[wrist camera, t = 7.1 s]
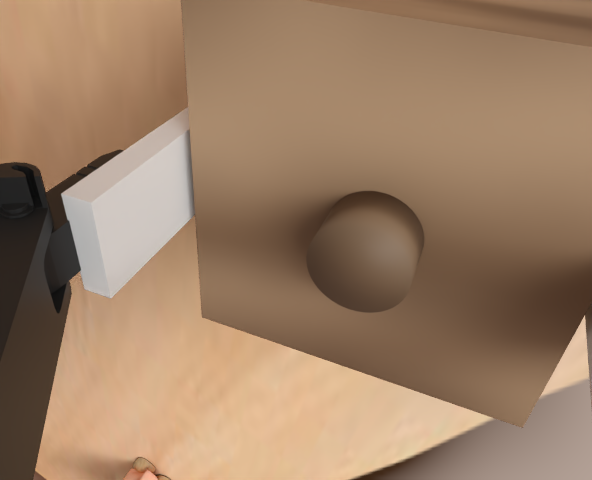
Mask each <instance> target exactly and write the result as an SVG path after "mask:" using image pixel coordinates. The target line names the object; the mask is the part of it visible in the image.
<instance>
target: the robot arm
mask: <svg viewBox="0 0 592 480" xmlns="http://www.w3.org/2000/svg"><path fill="white" fill-rule="evenodd" d="M194 215H195V204H194V188H193V173H192V158H191V143H190V128H189V112H188V107H187V108H185V109H184V110H183V111H181V112H180V113H178V114H177V115H175V116H174V117H172V118H171V119H169V120H168V121H166V122H165V123H164V124H162V125H161V126H159V127H158V128H156V129H155V130H153V131H152V132H150V133H149V134H148V135H146V136H145V137H143V138H142V139H140V140H139V141H137V142H136V143H134V144H133V145H131V146H130V147H129V148H127V149H126V150H124V151H123V150H117V151H114V152H111V153H108V154H105V155H103V156H100V157H99V158H97V159H96V160H94V161H93V162H91V163H90V164H88V166H87V167H84V168H82V169H81V170H79V171H78V172H77V174H76V175H75V174H73V175H72V176H70V177H69V178H67V179H66V180H64V181H63V182H61V183H60V184H58V185H57V186H55V187H54V188H52V189H51V190H49V191H48V192H45V188H44V184H43V180H42V177H41V173H40V170H39V169H38V168H37V167H36V166H34V165H31V164H27V163H17V162H13V163H4V164H0V480H33V477H34V472H35V467H36V463H37V458H38V453H39V448H40V443H41V438H42V434H43V429H44V424H45V419H46V414H47V409H48V405H49V400H50V395H51V390H52V385H53V381H54V376H55V371H56V366H57V361H58V356H59V352H60V347H61V342H62V337H63V332H64V327H65V323H66V318H67V313H68V308H69V303H70V299H71V294H72V293H71V286H70V282H69V280H70V279H71V278H72V277H74V276H75V275H76V274H77V273H78V272H79V271H80V273H81V277H82V281H83V285H84V289H85V290H88V291H91V292H93V293H96V294H99V295H102V296H105V297H108V298H110V299H111V298H112V297H113V296H114V295H115V294H116V293H117V292H118V291H119V290H120V289H121V288H122V287H123V286H124V285H125V284H126V283H127V282H128V281H129V280H130V279H131V278H132V277H133V276H134V275H135V274H136V273H137V272H138V271H139V270H140V269H141V268H142V267H143V266H144V265H145V264H146V263H147V262H148V261H149V260H150V259H151V258H152V257H153V256H154V255H155V254H156V253H157V252H158V251H159V250H160V249H161V248H162V247H163V246H164V245H165V244H166V243H167V242H168V241H169V240H170V239H171V238H172V237H173V236H174V235H175V234H176V233H177V232H178V231H179V230H180V229H181V228H182V227H183V226H184V225H185V224H186V223H187V222H188V221H189V220H190V219H191V218H192V217H193V216H194ZM585 319H586V334H587V348H588V363H589V377H590V392H591V405H592V303H591V305H590V306H589V308H588V310H587V312H586V314H585ZM591 407H592V406H591Z"/></svg>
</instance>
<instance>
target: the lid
mask: <svg viewBox="0 0 592 480" xmlns="http://www.w3.org/2000/svg"><path fill="white" fill-rule="evenodd" d="M181 6H182V21H183V37H184V52H185V67H186V82H187V97H188V112H189V128H190V143H191V158H192V173H193V188H194V204H195V219H196V234H197V249H198V264H199V279H200V295H201V310H202V317H203V318H206V319H209V320H212V321H215V322H218V323H220V324H223V325H226V326H229V327H232V328H235V329H238V330H241V331H244V332H246V333H249V334H252V335H255V336H258V337H261V338H264V339H267V340H270V341H273V342H275V343H278V344H281V345H284V346H287V347H290V348H293V349H296V350H299V351H302V352H304V353H307V354H310V355H313V356H316V357H319V358H322V359H325V360H328V361H330V362H333V363H336V364H339V365H342V366H345V367H348V368H351V369H354V370H357V371H359V372H362V373H365V374H368V375H371V376H374V377H377V378H380V379H383V380H386V381H388V382H391V383H394V384H397V385H400V386H403V387H406V388H409V389H412V390H414V391H417V392H420V393H423V394H426V395H429V396H432V397H435V398H438V399H441V400H443V401H446V402H449V403H452V404H455V405H458V406H461V407H464V408H467V409H470V410H472V411H475V412H478V413H481V414H484V415H487V416H490V417H493V418H496V419H498V420H501V421H504V422H508V423H510V424H513V425H516V426H519V427H522V428H523V426H524V424H525V422H526V421H527V419H528V417H529V415H530V413H531V412H532V410H533V408H534V406H535V404H536V402H537V401H538V399H539V397H540V395H541V394H542V392H543V390H544V388H545V386H546V384H547V383H548V381H549V379H550V377H551V375H552V374H553V372H554V370H555V368H556V366H557V364H558V363H559V361H560V359H561V357H562V355H563V354H564V352H565V350H566V348H567V346H568V345H569V343H570V341H571V339H572V337H573V335H574V334H575V332H576V330H577V328H578V326H579V325H580V323H581V321H582V319H583V317H584V315H585V314H586V312H587V310H588V308H589V306H590V305H591V303H592V0H181Z"/></svg>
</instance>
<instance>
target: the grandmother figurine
mask: <svg viewBox="0 0 592 480" xmlns="http://www.w3.org/2000/svg"><path fill="white" fill-rule="evenodd" d="M154 471H155V467H154V466H153V465H152V464H151V463H150V462H149V461H147V460H146V459H144V458H138V459H137V460H136V461H135V462H134V464H133V469H131V470H130V471H129V472H128V473H127V474H126V476H125V477H124V478H123V480H170V479H168V478H167V477H165V476H162V475H158V476H155V475H154V474H152V473H153V472H154Z"/></svg>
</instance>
